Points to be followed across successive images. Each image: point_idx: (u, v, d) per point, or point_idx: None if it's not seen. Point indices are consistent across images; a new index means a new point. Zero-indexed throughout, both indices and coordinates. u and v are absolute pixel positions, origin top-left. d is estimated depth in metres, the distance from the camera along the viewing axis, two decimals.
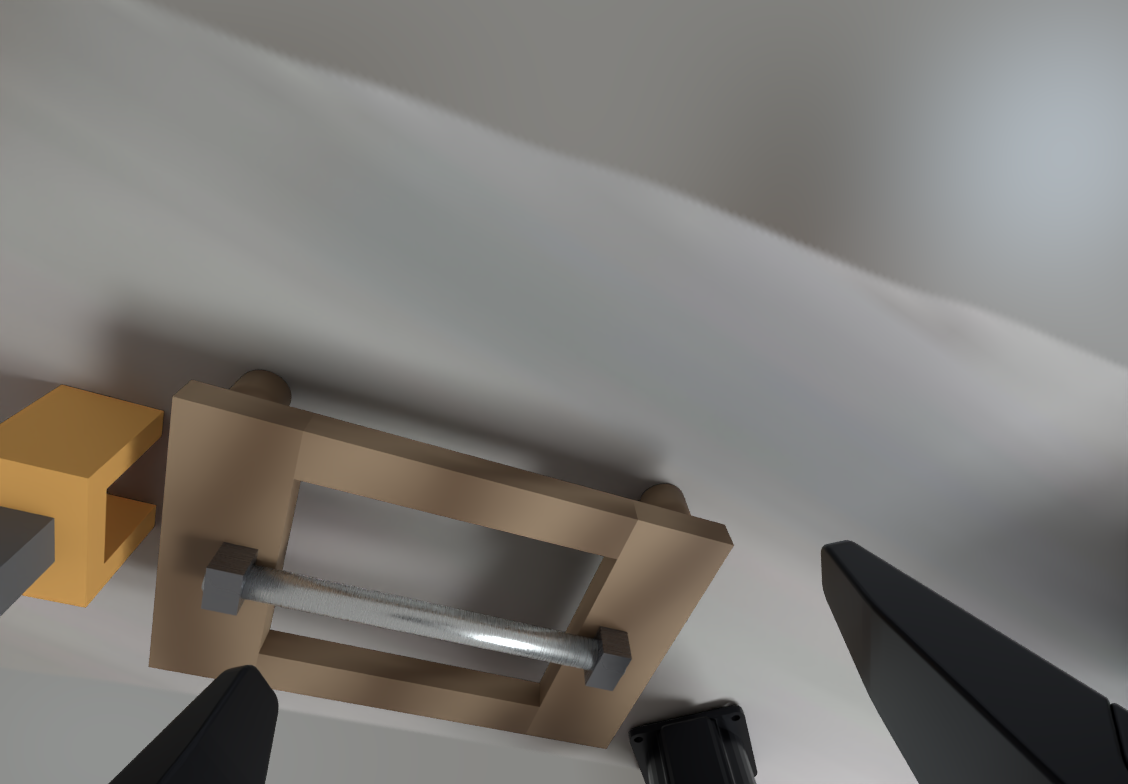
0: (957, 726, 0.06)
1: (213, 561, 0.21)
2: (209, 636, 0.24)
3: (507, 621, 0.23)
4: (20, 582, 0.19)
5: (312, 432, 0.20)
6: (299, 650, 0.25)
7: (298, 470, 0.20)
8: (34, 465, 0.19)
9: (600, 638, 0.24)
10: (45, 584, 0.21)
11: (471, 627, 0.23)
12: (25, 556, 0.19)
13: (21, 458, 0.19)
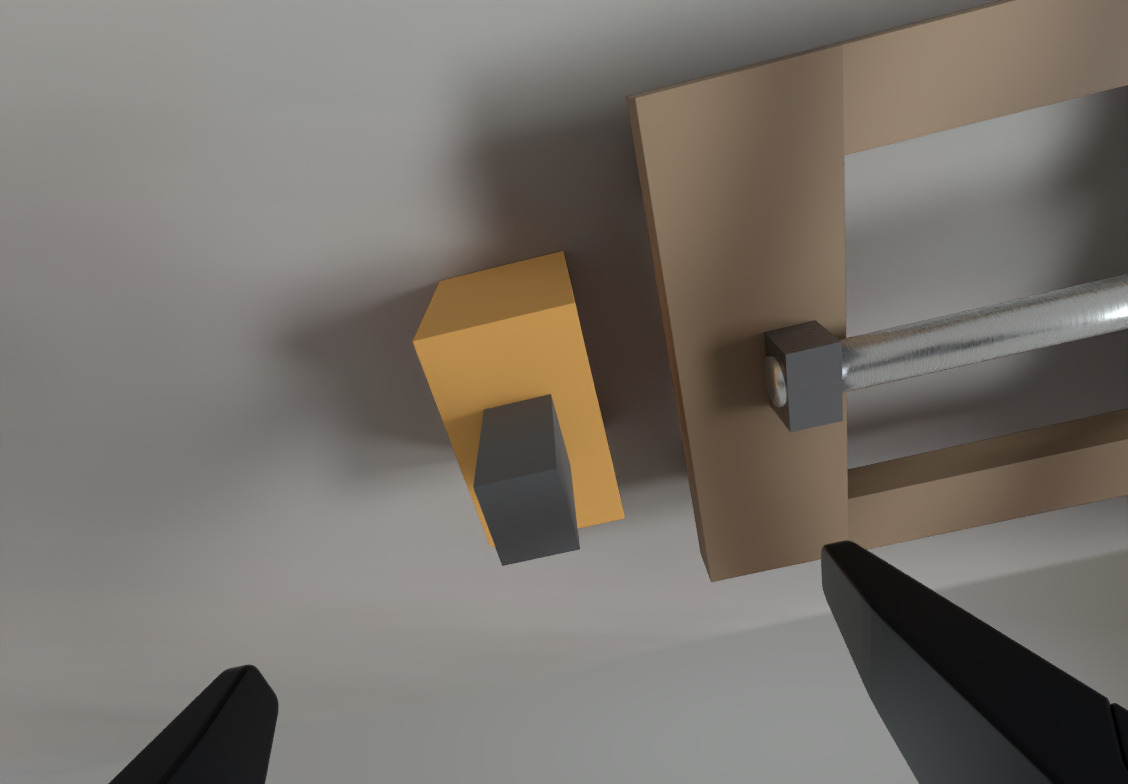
0: (957, 726, 0.06)
1: (783, 347, 0.13)
2: (777, 501, 0.16)
3: None
4: (568, 483, 0.13)
5: (853, 45, 0.11)
6: (891, 477, 0.17)
7: (849, 132, 0.12)
8: (503, 319, 0.13)
9: None
10: None
11: None
12: (558, 442, 0.13)
13: (481, 321, 0.13)
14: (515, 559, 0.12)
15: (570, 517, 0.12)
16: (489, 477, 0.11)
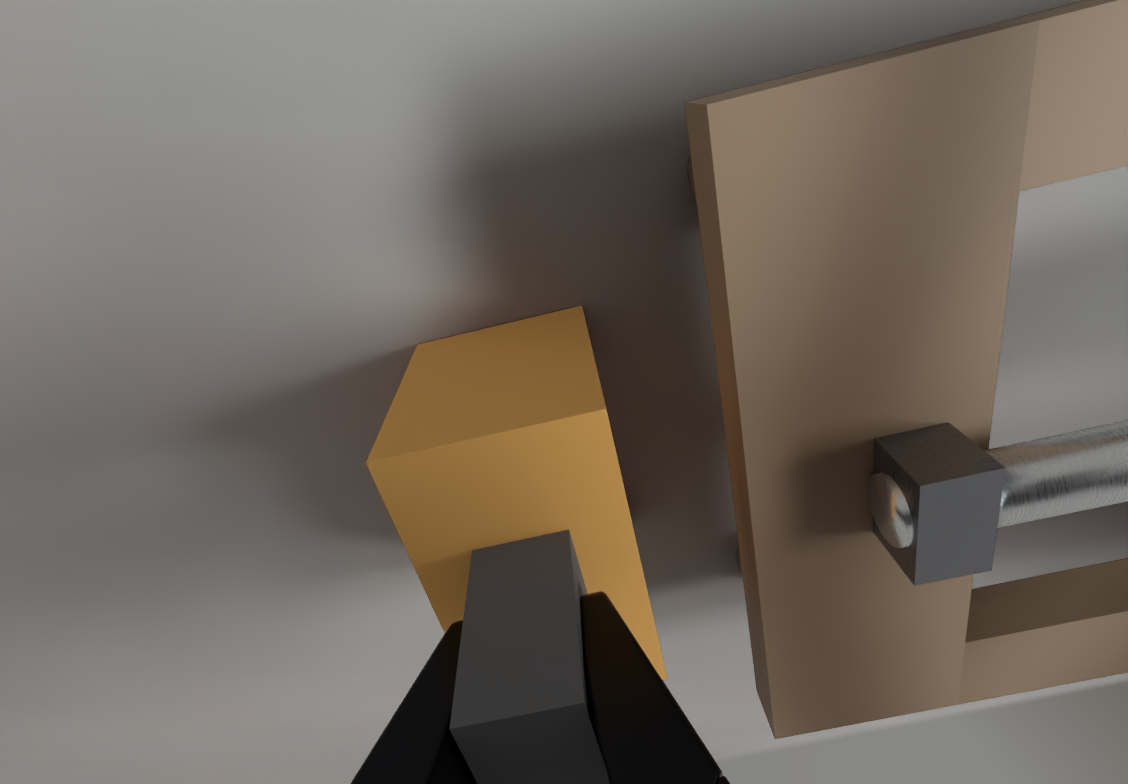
0: None
1: (913, 471, 0.09)
2: (871, 646, 0.12)
3: None
4: None
5: (1052, 21, 0.07)
6: (1021, 609, 0.12)
7: (1032, 157, 0.08)
8: (499, 431, 0.09)
9: None
10: None
11: None
12: None
13: (467, 432, 0.09)
14: None
15: (603, 760, 0.07)
16: (476, 707, 0.07)
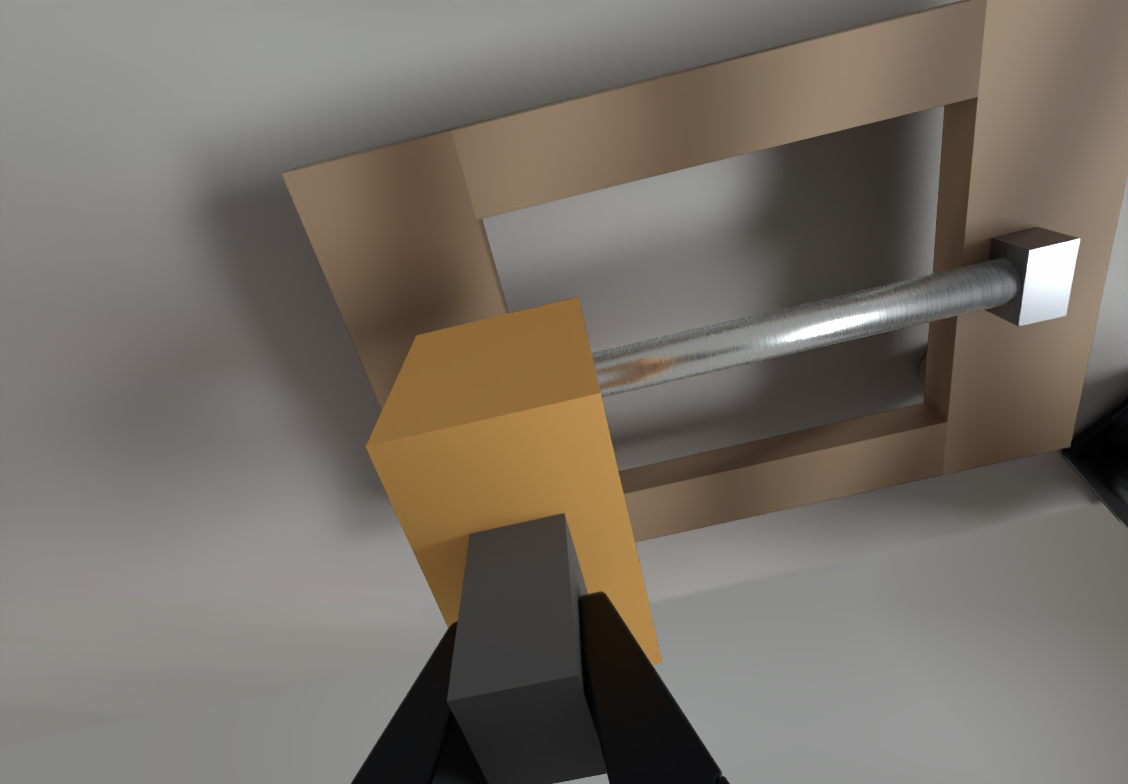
0: None
1: None
2: None
3: (852, 292, 0.15)
4: None
5: None
6: None
7: (476, 201, 0.14)
8: (496, 416, 0.09)
9: (1006, 246, 0.15)
10: None
11: (809, 315, 0.15)
12: (576, 596, 0.09)
13: (464, 417, 0.09)
14: None
15: (596, 734, 0.08)
16: (472, 680, 0.07)
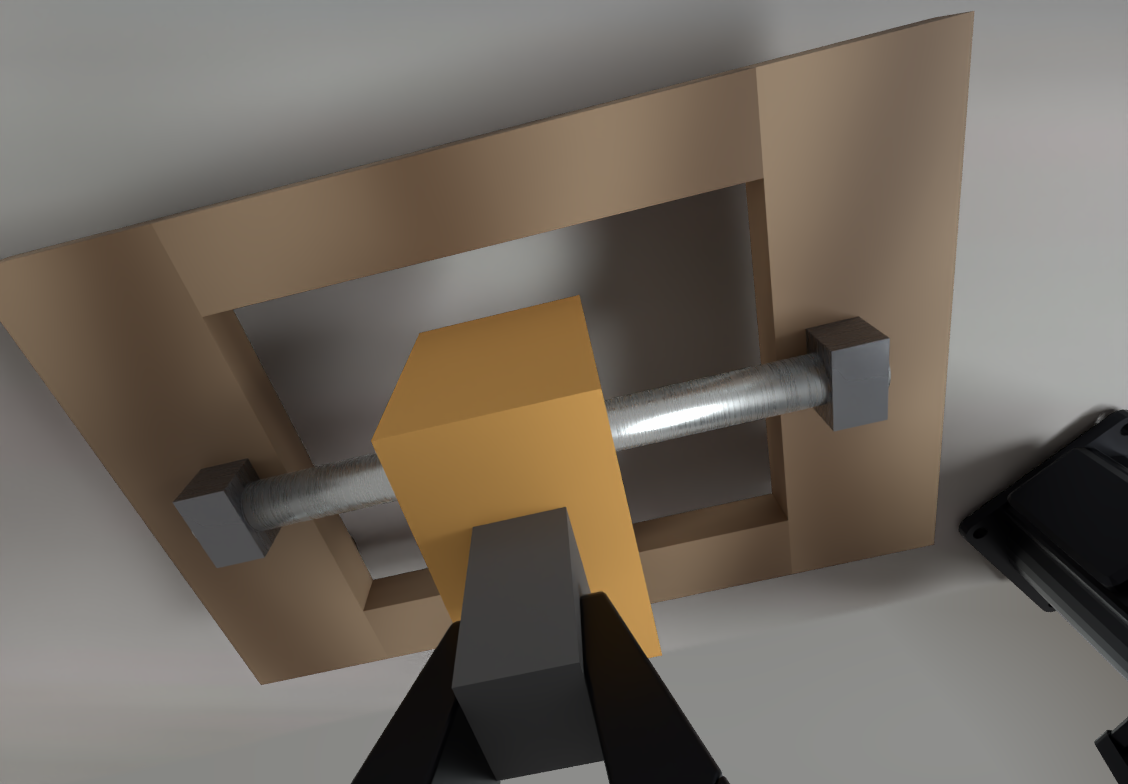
0: None
1: (183, 492, 0.14)
2: (291, 614, 0.17)
3: (647, 391, 0.14)
4: None
5: (168, 221, 0.12)
6: (415, 587, 0.17)
7: (196, 297, 0.12)
8: (499, 411, 0.09)
9: (816, 341, 0.13)
10: None
11: None
12: (578, 587, 0.09)
13: (468, 412, 0.09)
14: (515, 774, 0.08)
15: None
16: (476, 668, 0.07)
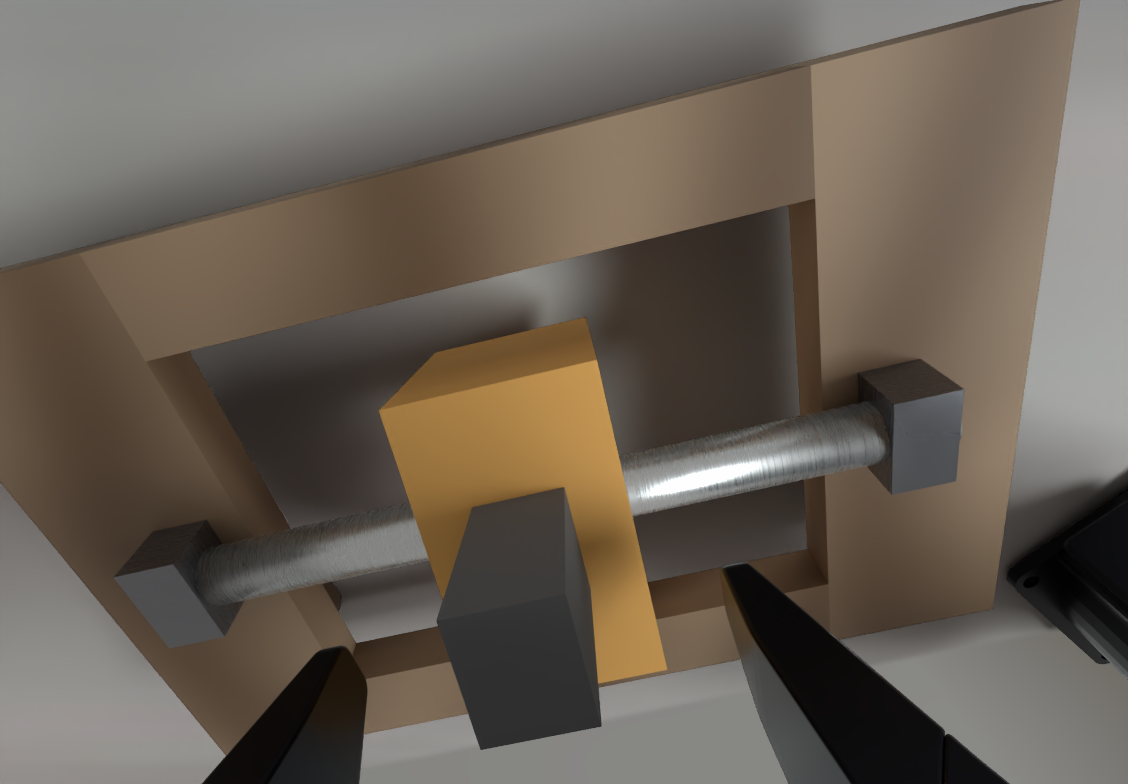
0: (811, 753, 0.06)
1: (127, 564, 0.12)
2: (262, 686, 0.15)
3: (671, 445, 0.12)
4: (586, 617, 0.09)
5: (101, 250, 0.10)
6: (403, 655, 0.15)
7: (137, 339, 0.10)
8: (500, 381, 0.10)
9: (872, 389, 0.11)
10: None
11: None
12: (572, 554, 0.09)
13: (471, 385, 0.10)
14: (500, 740, 0.08)
15: (586, 673, 0.07)
16: (463, 605, 0.07)
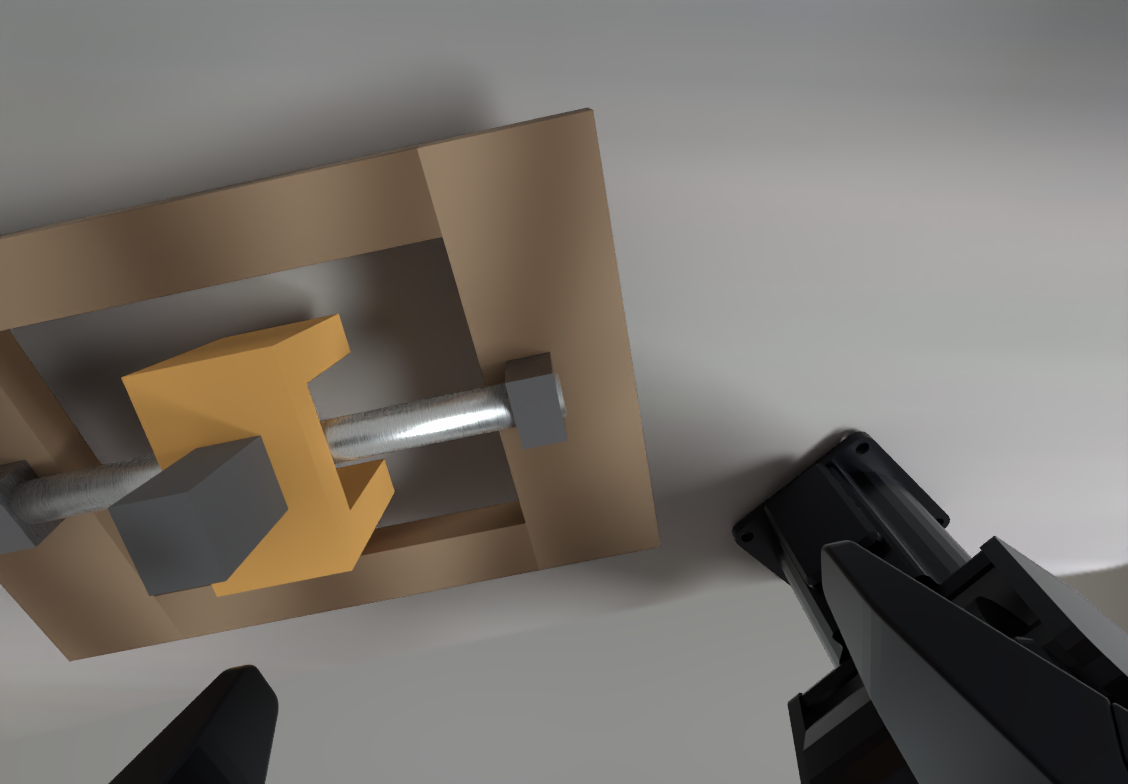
0: (957, 726, 0.06)
1: None
2: (87, 597, 0.19)
3: None
4: (249, 519, 0.13)
5: None
6: None
7: None
8: (206, 359, 0.14)
9: (506, 373, 0.15)
10: (292, 554, 0.15)
11: None
12: (241, 477, 0.13)
13: (189, 361, 0.14)
14: (161, 589, 0.12)
15: (212, 545, 0.12)
16: (130, 500, 0.12)
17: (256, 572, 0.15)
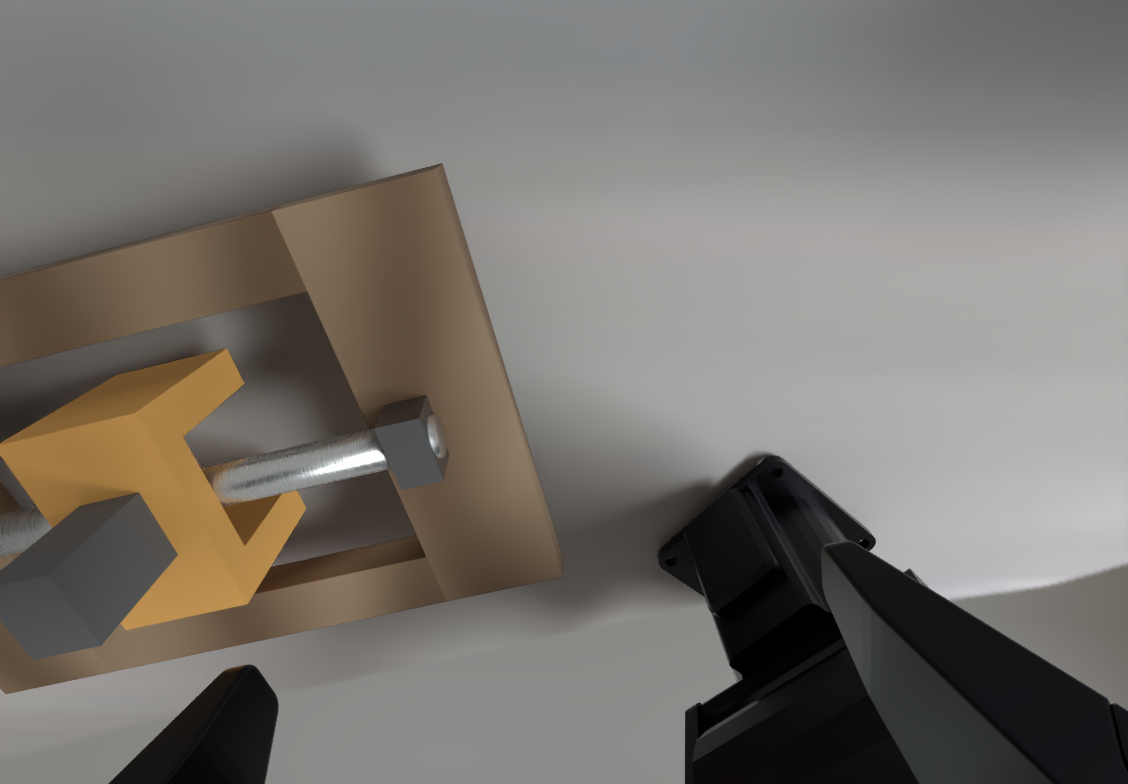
0: (957, 726, 0.06)
1: None
2: None
3: (256, 455, 0.17)
4: (128, 579, 0.14)
5: None
6: None
7: None
8: (73, 427, 0.14)
9: (381, 417, 0.16)
10: (189, 592, 0.16)
11: None
12: (115, 541, 0.14)
13: (59, 428, 0.14)
14: (43, 654, 0.13)
15: (81, 617, 0.13)
16: None
17: (158, 608, 0.16)
